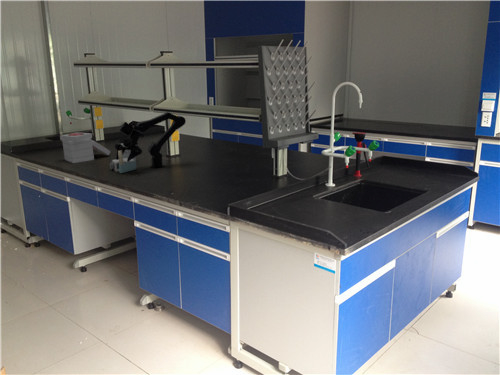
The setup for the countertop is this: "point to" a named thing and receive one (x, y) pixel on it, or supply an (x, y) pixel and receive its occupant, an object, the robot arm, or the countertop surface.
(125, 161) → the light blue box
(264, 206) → the countertop surface
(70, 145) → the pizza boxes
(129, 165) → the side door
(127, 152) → the supplement box
